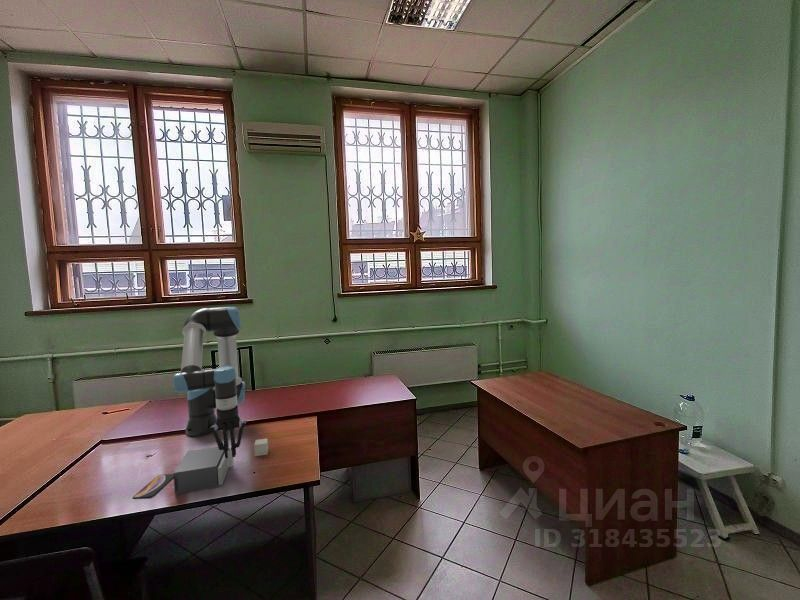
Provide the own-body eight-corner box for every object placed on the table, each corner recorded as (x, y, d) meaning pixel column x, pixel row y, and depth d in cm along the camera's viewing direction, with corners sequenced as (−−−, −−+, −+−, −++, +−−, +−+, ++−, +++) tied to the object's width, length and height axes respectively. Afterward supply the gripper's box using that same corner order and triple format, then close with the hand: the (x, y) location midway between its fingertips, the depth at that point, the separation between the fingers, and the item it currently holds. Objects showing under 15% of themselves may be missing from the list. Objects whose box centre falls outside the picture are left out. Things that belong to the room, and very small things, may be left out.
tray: (193, 468, 143) (192, 452, 142) (230, 462, 146) (229, 447, 146) (180, 492, 127) (178, 474, 126) (222, 484, 130) (221, 467, 130)
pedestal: (256, 450, 157) (255, 440, 156) (268, 449, 158) (267, 438, 158) (254, 456, 152) (254, 445, 152) (267, 454, 153) (266, 443, 153)
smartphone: (130, 498, 124) (158, 474, 139) (131, 500, 124) (158, 476, 139) (152, 496, 124) (177, 473, 139) (152, 498, 124) (177, 475, 139)
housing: (189, 469, 142) (188, 450, 142) (227, 463, 146) (225, 445, 146) (175, 494, 126) (173, 472, 125) (217, 486, 130) (216, 466, 129)
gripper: (206, 412, 132) (210, 473, 133) (243, 407, 135) (247, 466, 137) (211, 405, 139) (215, 463, 140) (246, 401, 143) (250, 457, 144)
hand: (231, 465), depth 139 cm, fingers closed
